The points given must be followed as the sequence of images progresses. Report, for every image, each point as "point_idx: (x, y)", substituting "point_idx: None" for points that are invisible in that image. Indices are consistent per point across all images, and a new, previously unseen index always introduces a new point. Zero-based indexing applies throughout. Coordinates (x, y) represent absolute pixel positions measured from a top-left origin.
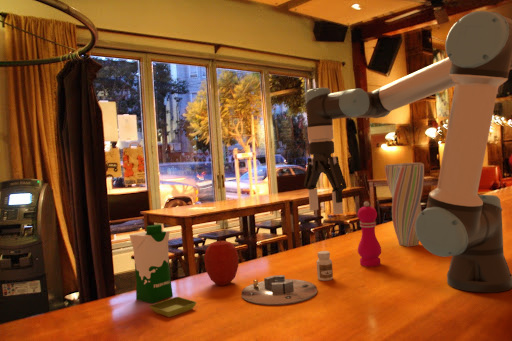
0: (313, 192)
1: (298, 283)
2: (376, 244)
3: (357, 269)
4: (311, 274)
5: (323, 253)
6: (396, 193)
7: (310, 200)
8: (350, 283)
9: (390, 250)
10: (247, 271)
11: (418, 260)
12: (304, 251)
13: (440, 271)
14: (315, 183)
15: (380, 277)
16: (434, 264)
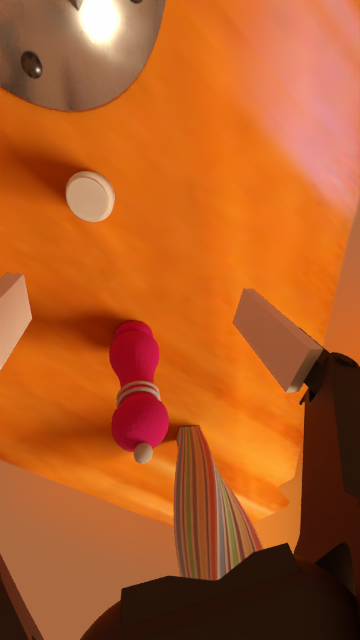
0: (285, 358)
1: (67, 67)
2: (113, 367)
3: (118, 298)
4: (152, 195)
5: (70, 187)
6: (212, 528)
7: (267, 312)
8: (20, 213)
9: (183, 402)
10: (311, 69)
11: (99, 399)
12: (304, 306)
13: (12, 387)
14: (309, 415)
15: (32, 294)
16: (60, 402)
